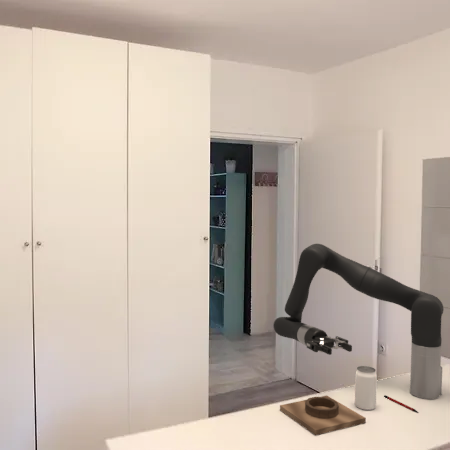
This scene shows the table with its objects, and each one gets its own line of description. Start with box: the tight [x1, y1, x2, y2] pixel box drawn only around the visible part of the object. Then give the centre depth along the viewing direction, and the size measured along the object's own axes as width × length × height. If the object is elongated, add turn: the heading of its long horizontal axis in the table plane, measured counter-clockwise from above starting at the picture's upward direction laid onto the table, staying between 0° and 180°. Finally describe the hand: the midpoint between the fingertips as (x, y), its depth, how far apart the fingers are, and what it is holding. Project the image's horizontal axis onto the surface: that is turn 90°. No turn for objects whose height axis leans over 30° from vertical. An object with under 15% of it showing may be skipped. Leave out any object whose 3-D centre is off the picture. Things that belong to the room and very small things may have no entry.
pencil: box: [383, 394, 420, 414], centre depth 157 cm, size 1×14×1 cm, turn 28°
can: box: [354, 365, 378, 411], centre depth 156 cm, size 6×6×12 cm
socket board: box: [279, 395, 367, 436], centre depth 148 cm, size 18×18×4 cm
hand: (341, 350), depth 166 cm, fingers open, 8 cm apart
